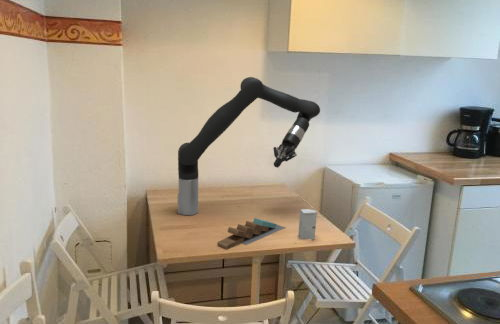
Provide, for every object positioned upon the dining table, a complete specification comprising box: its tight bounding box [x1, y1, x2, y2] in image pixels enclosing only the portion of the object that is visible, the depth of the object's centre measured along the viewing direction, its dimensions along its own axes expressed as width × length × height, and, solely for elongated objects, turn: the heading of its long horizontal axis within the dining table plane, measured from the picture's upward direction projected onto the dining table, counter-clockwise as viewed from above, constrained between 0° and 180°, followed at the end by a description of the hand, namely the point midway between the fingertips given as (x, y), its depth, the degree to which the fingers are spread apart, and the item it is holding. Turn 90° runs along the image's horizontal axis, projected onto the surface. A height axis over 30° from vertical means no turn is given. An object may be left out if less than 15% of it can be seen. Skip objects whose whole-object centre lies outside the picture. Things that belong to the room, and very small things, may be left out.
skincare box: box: [297, 208, 318, 241], centre depth 176 cm, size 6×4×12 cm
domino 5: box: [252, 217, 277, 228], centre depth 183 cm, size 2×5×10 cm
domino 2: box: [227, 226, 253, 239], centre depth 171 cm, size 2×5×10 cm
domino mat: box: [241, 223, 286, 246], centre depth 180 cm, size 26×10×1 cm, turn 138°
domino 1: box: [217, 234, 244, 250], centre depth 168 cm, size 2×5×10 cm
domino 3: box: [236, 223, 261, 235], centre depth 175 cm, size 2×5×10 cm
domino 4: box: [245, 220, 269, 232], centre depth 179 cm, size 2×5×10 cm
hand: (275, 166), depth 192 cm, fingers closed
